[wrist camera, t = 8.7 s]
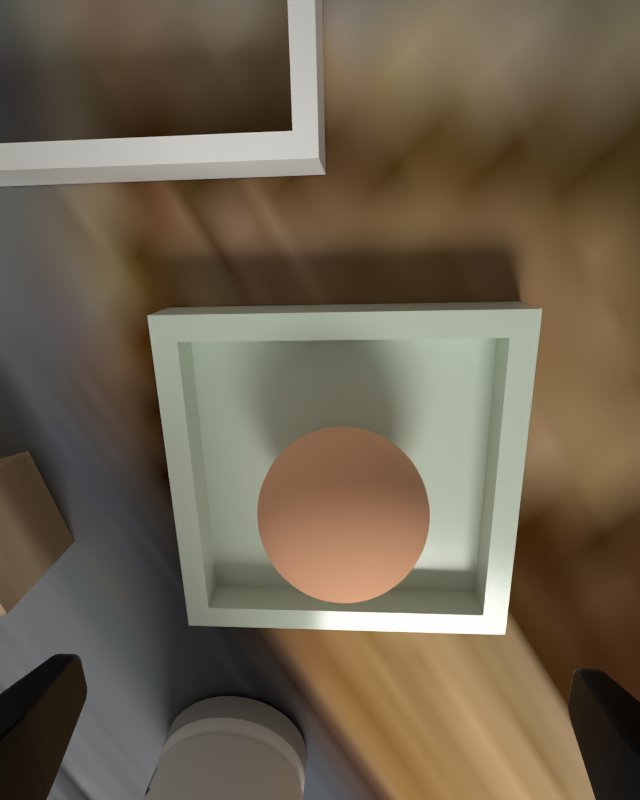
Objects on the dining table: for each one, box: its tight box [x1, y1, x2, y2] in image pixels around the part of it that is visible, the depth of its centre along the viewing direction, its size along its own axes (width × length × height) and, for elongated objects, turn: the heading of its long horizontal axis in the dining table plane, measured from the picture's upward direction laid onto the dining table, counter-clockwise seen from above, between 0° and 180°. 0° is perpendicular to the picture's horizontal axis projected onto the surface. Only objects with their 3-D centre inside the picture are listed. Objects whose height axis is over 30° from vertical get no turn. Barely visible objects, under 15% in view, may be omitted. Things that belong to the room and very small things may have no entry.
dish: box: [147, 301, 542, 635], centre depth 16 cm, size 11×11×2 cm
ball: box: [257, 426, 430, 603], centre depth 14 cm, size 5×5×5 cm
